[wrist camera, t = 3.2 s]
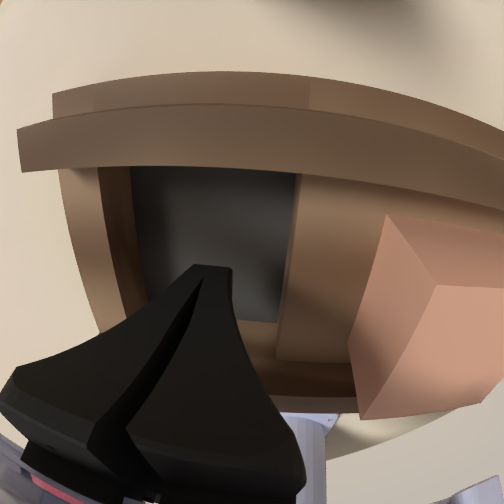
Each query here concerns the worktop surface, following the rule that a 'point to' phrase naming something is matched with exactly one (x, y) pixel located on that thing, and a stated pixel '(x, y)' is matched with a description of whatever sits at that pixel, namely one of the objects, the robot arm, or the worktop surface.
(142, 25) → the worktop surface
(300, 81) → the chute
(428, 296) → the block
